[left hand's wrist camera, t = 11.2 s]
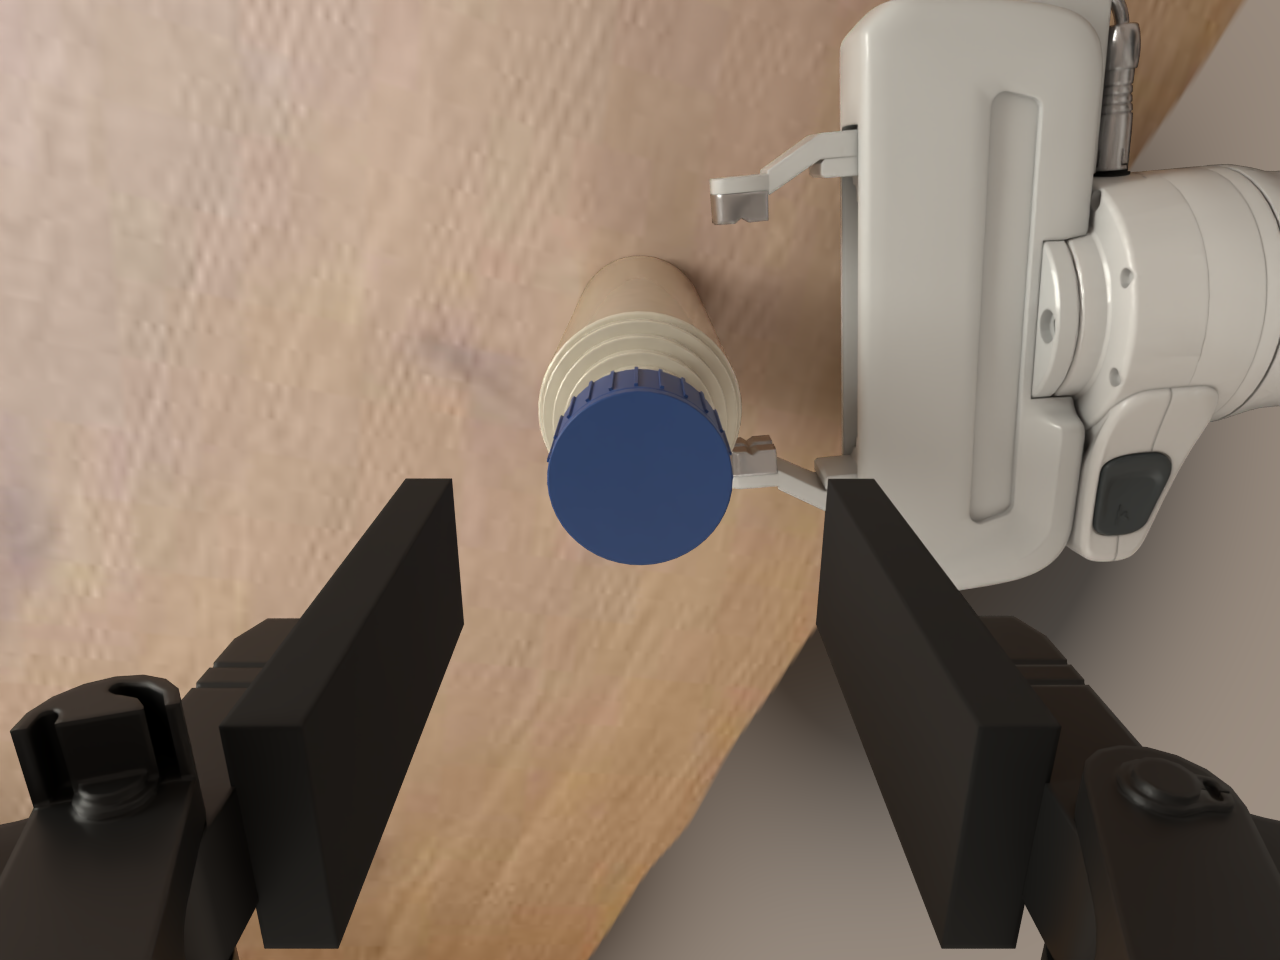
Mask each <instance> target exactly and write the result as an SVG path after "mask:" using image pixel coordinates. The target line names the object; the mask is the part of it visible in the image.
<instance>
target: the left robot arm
mask: <svg viewBox="0 0 1280 960" xmlns="http://www.w3.org/2000/svg"><path fill="white" fill-rule="evenodd" d="M463 625H464V619H463V607H462V594H461V582H460V570H459V558H458V546H457V534H456V522H455V510H454V498H453V486H452V479H405V481H404V482H403V483H402V484H401V486H400V487H399V488H398V490H397V491H396V492H395V494H394V495H393V496H392V498H391V499H390V500H389V502H388V503H387V504H386V506H385V507H384V508H383V510H382V511H381V512H380V514H379V515H378V516H377V518H376V519H375V520H374V521H373V523H372V524H371V525H370V527H369V528H368V529H367V531H366V532H365V533H364V535H363V536H362V537H361V539H360V540H359V541H358V543H357V544H356V545H355V547H354V548H353V549H352V551H351V552H350V553H349V555H348V556H347V557H346V558H345V560H344V561H343V562H342V564H341V565H340V566H339V568H338V569H337V570H336V572H335V573H334V574H333V576H332V577H331V578H330V580H329V581H328V582H327V584H326V585H325V586H324V588H323V589H322V590H321V591H320V593H319V594H318V595H317V597H316V598H315V599H314V601H313V602H312V603H311V605H310V606H309V607H308V609H307V610H306V611H305V613H304V614H303V615H302V617H301V618H300V619H266V620H264V621H263V622H261V623H259V624H258V625H256V626H255V627H253V628H251V629H250V630H248V631H246V632H245V633H243V634H242V635H240V636H238V637H237V638H235V639H234V640H233V641H232V642H231V643H230V645H229V646H228V647H227V648H226V649H225V650H224V651H223V653H222V654H221V655H220V656H219V657H218V658H217V660H216V661H215V662H214V666H213V668H209V669H208V670H207V671H206V672H205V673H204V675H203V676H202V677H201V678H200V679H199V680H198V682H197V683H196V688H192V689H191V690H190V691H189V692H188V693H187V694H186V695H185V697H184V698H183V699H182V700H181V697H180V693H179V689H178V688H177V687H176V686H174V685H173V684H172V683H171V682H169V681H168V680H167V679H164V678H158V677H153V676H148V675H133V676H117V677H112V678H107V679H103V680H99V681H95V682H91V683H87V684H83V685H80V686H78V687H76V688H73V689H71V690H68V691H66V692H63V693H61V694H58V695H56V696H54V697H52V698H50V699H48V700H47V701H45V702H44V703H42V704H40V705H39V706H37V707H36V708H34V709H33V710H31V711H29V712H28V713H26V714H25V716H24V717H23V718H22V719H21V720H20V721H19V722H18V723H17V724H16V725H15V726H14V727H13V728H12V729H11V731H10V733H11V736H12V739H13V743H14V746H15V749H16V752H17V756H18V759H19V762H20V765H21V768H22V772H23V775H24V778H25V781H26V784H27V788H28V791H29V794H30V797H31V800H32V804H33V807H34V809H33V811H32V813H31V815H30V817H29V818H27V819H24V820H20V821H16V822H11V823H6V824H2V825H0V960H239V957H238V953H237V948H236V944H237V943H238V941H239V939H240V937H241V935H242V933H243V931H244V929H245V927H246V925H247V923H248V921H249V920H250V918H251V916H252V914H253V912H254V910H255V908H256V910H257V915H258V919H259V924H260V929H261V934H262V939H263V943H264V948H265V949H338V948H339V945H340V943H341V940H342V938H343V935H344V933H345V930H346V927H347V925H348V922H349V920H350V917H351V914H352V912H353V909H354V907H355V904H356V902H357V899H358V896H359V894H360V891H361V889H362V886H363V883H364V881H365V878H366V876H367V873H368V871H369V868H370V865H371V863H372V860H373V858H374V855H375V852H376V850H377V847H378V845H379V842H380V840H381V837H382V834H383V832H384V829H385V827H386V824H387V822H388V819H389V816H390V814H391V811H392V809H393V806H394V803H395V801H396V798H397V796H398V793H399V791H400V788H401V785H402V783H403V780H404V778H405V775H406V772H407V770H408V767H409V765H410V762H411V760H412V757H413V754H414V752H415V749H416V747H417V744H418V741H419V739H420V736H421V734H422V731H423V729H424V726H425V723H426V721H427V718H428V716H429V713H430V710H431V708H432V705H433V703H434V700H435V698H436V695H437V692H438V690H439V687H440V685H441V682H442V679H443V677H444V674H445V672H446V669H447V667H448V664H449V661H450V659H451V656H452V654H453V651H454V648H455V646H456V643H457V641H458V638H459V636H460V633H461V630H462V628H463ZM816 625H817V628H818V630H819V633H820V636H821V638H822V641H823V643H824V646H825V648H826V651H827V654H828V656H829V659H830V661H831V664H832V666H833V669H834V672H835V674H836V677H837V679H838V682H839V685H840V687H841V690H842V692H843V695H844V698H845V700H846V703H847V705H848V708H849V710H850V713H851V716H852V718H853V721H854V723H855V726H856V729H857V731H858V734H859V736H860V739H861V741H862V744H863V747H864V749H865V752H866V754H867V757H868V760H869V762H870V765H871V767H872V770H873V772H874V775H875V777H876V780H877V783H878V785H879V788H880V790H881V793H882V796H883V798H884V801H885V803H886V806H887V809H888V811H889V814H890V816H891V819H892V821H893V824H894V827H895V829H896V832H897V834H898V837H899V840H900V842H901V845H902V847H903V850H904V853H905V855H906V858H907V860H908V863H909V865H910V868H911V871H912V873H913V876H914V878H915V881H916V883H917V886H918V889H919V891H920V894H921V896H922V899H923V902H924V904H925V907H926V909H927V912H928V914H929V917H930V920H931V922H932V925H933V927H934V930H935V932H936V935H937V938H938V940H939V943H940V945H941V948H942V949H955V948H956V949H963V948H964V949H967V948H968V949H970V948H971V949H976V948H977V949H985V948H987V949H992V948H993V949H994V948H995V949H996V948H997V949H1000V948H1001V949H1004V948H1005V949H1009V948H1010V949H1015V948H1016V943H1017V939H1018V934H1019V929H1020V924H1021V919H1022V915H1023V910H1024V905H1025V906H1026V907H1027V909H1028V911H1029V913H1030V915H1031V917H1032V919H1033V921H1034V923H1035V925H1036V927H1037V928H1038V930H1039V932H1040V934H1041V936H1042V938H1043V940H1044V942H1045V944H1044V948H1043V953H1042V957H1041V960H1280V821H1278V820H1273V819H1268V818H1264V817H1260V816H1256V815H1252V814H1250V813H1249V811H1248V809H1247V807H1246V806H1245V804H1244V803H1243V802H1242V801H1241V799H1240V798H1239V797H1238V795H1237V794H1236V793H1235V792H1234V790H1233V789H1232V788H1231V787H1230V786H1229V785H1227V784H1226V783H1224V782H1223V781H1222V780H1220V779H1219V778H1218V777H1216V776H1215V775H1214V774H1212V773H1211V772H1210V771H1208V770H1207V769H1205V768H1203V767H1201V766H1198V765H1196V764H1194V763H1192V762H1190V761H1188V760H1186V759H1184V758H1182V757H1179V756H1177V755H1174V754H1170V753H1166V752H1163V751H1159V750H1156V749H1152V748H1148V747H1142V746H1141V744H1140V743H1139V742H1138V741H1137V740H1136V739H1135V738H1134V736H1133V735H1132V734H1131V733H1130V732H1129V731H1128V730H1127V728H1126V727H1125V726H1124V725H1123V724H1122V723H1121V721H1120V720H1119V719H1118V718H1117V717H1116V716H1115V715H1114V713H1113V712H1112V711H1111V710H1110V709H1109V708H1108V706H1107V705H1106V704H1105V703H1104V702H1103V701H1102V700H1101V699H1100V697H1099V696H1098V695H1097V694H1096V693H1095V692H1094V690H1093V689H1092V688H1091V687H1090V686H1089V685H1085V684H1084V679H1083V678H1082V677H1081V676H1080V674H1079V673H1078V672H1077V671H1076V670H1075V669H1074V667H1073V666H1072V665H1067V659H1066V658H1065V657H1064V656H1063V655H1062V654H1061V653H1060V651H1059V650H1058V649H1057V648H1056V647H1055V646H1054V644H1053V643H1052V642H1051V641H1050V640H1049V639H1048V638H1047V636H1045V635H1044V634H1042V633H1040V632H1039V631H1037V630H1035V629H1034V628H1032V627H1030V626H1029V625H1027V624H1026V623H1024V622H1022V621H1021V620H1019V619H1017V618H1016V617H1014V616H978V615H977V614H976V613H975V611H974V610H973V609H972V607H971V606H970V605H969V603H968V602H967V601H966V599H965V598H964V597H963V595H962V594H961V593H960V592H959V590H958V589H957V588H956V586H955V585H954V584H953V582H952V581H951V580H950V578H949V577H948V576H947V574H946V573H945V572H944V570H943V569H942V568H941V566H940V565H939V564H938V562H937V561H936V560H935V558H934V557H933V556H932V555H931V553H930V552H929V551H928V549H927V548H926V547H925V545H924V544H923V543H922V541H921V540H920V539H919V537H918V536H917V535H916V533H915V532H914V531H913V529H912V528H911V527H910V525H909V524H908V523H907V521H906V520H905V519H904V518H903V516H902V515H901V514H900V512H899V511H898V510H897V508H896V507H895V506H894V504H893V503H892V502H891V500H890V499H889V498H888V496H887V495H886V494H885V492H884V491H883V490H882V488H881V487H880V486H879V484H878V483H877V482H876V481H875V479H828V486H827V498H826V510H825V522H824V534H823V546H822V558H821V570H820V582H819V594H818V606H817V619H816Z"/></svg>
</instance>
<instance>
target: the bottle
mask: <svg viewBox="0 0 1280 960" xmlns="http://www.w3.org/2000/svg"><path fill="white" fill-rule="evenodd" d="M635 367H638V369H650V370H656V371H658V370H659V369H662V370H663V372H665V373H668V374H671V375H673V376H675V377H678V378H680V379H681V377H683V378H685V381H686V382H687V383H688V384H690V385H691V386H693V387H694V388H695V389H696V390H697V391H699V392H700V391H702V392H703V393H704V396H705V399H706V400H707V401H708V403H709V404H710V406H711V407H712V408H713V410H715V409H716V410H717V412H718V415H719V418H720V421H721V425H722V428H723V430H725V433H726V437H727V440H728V443H729V446H730V449H731V452H732V450H733V448H734V446H735V443H736V440H737V438H738V434H739V429H740V425H741V415H742V405H741V395H740V389H739V385H738V382H737V379H736V376H735V373H734V371H733V369H732V366H731V364H730V362H729V360H728V358H727V356H726V354H725V351H724V349H723V347H722V345H721V343H720V341H719V338H718V336H717V334H716V332H715V330H714V328H713V326H712V323H711V321H710V319H709V317H708V315H707V313H706V310H705V308H704V306H703V304H702V302H701V300H700V298H699V295H698V293H697V291H696V289H695V287H694V286H693V284H692V283H691V281H690V280H689V279H688V278H687V276H686V275H685V274H684V273H683V272H681V271H680V270H679V269H678V268H676V267H675V266H673V265H672V264H670V263H668V262H666V261H664V260H661V259H658V258H655V257H649V256H630V257H626V258H622V259H619V260H616V261H614V262H612V263H610V264H608V265H606V266H605V267H604V268H602V269H601V270H600V271H599V272H597V273H596V274H595V275H594V276H593V278H592V279H591V280H590V281H589V283H588V284H587V286H586V288H585V289H584V291H583V293H582V295H581V298H580V300H579V302H578V304H577V306H576V308H575V310H574V313H573V315H572V317H571V319H570V321H569V323H568V326H567V328H566V330H565V332H564V334H563V336H562V339H561V341H560V343H559V345H558V347H557V349H556V351H555V354H554V356H553V358H552V360H551V362H550V364H549V367H548V369H547V371H546V373H545V376H544V378H543V382H542V386H541V389H540V395H539V403H538V416H539V424H540V430H541V434H542V437H543V441H544V443H545V446H546V448H547V450H548V453H549V452H550V449H551V446H552V442H553V437H554V434H555V431H556V428H557V425H558V422H559V419H560V416H561V415H562V416H564V414H565V412H566V410H567V409H568V407H569V406H570V403H571V399H572V397H573V396H575V397H577V395H578V394H580V393H581V392H582V391H583V390H584V389H585V388H586V387H588V385H589V382H590V381H593V382H595V381H597V380H598V379H600V378H602V377H604V376H607V375H609V374H610V373H611V371H615V372H619V371H624V370H631V369H635Z"/></svg>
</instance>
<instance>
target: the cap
mask: <svg viewBox="0 0 1280 960" xmlns="http://www.w3.org/2000/svg"><path fill="white" fill-rule="evenodd" d="M730 455H732V452H731V449H730V446H729V443H728V440H727V437H726V433H725V430H723V428H722V425H721V421H720V418H719V415H718V412H717V410H716V409H715V410H713V408H712V407H711V406H710V404H709V403H708V401H707V400H706V399H705V396H704V393H703V392H702V391H700V392H699V391H697V390H696V389H695V388H694V387H693V386H691V385H690V384H688V383H687V382H686V381H685V378H683V377H681V379H680V378H678V377H675V376H673V375H671V374H668V373H665V372H663V370H662V369H659V370H658V371H656V370H650V369H638V367H635V369H631V370H624V371H619V372H615V371H611V373H610V374H609V375H607V376H604V377H602V378H600V379H598V380H597V381H595V382H593V381H590V382H589V385H588V387H586V388H585V389H584V390H583V391H582V392H581V393H580V394H578V395H577V397H575V396H573V397H572V399H571V403H570V406H569V407H568V409H567V410H566V412H565V414H564V416H562V415H561V416H560V419H559V422H558V425H557V428H556V431H555V434H554V437H553V442H552V446H551V449H550V452H549V455H548V458H547V462H549V465H548V471H547V485H548V491H549V497H550V500H551V504H552V507H553V509H554V511H555V514H556V516H557V518H558V519H559V521H560V523H561V524H562V526H563V527H564V528H565V530H566V531H567V532H568V533H569V535H571V536H572V537H573V538H574V539H575V540H576V541H577V542H578V543H579V544H580V545H582V546H583V547H584V548H586V549H587V550H589V551H591V552H592V553H594V554H596V555H598V556H600V557H603V558H605V559H607V560H611V561H614V562H618V563H623V564H630V565H649V564H657V563H662V562H666V561H669V560H672V559H675V558H678V557H680V556H682V555H684V554H686V553H688V552H689V551H691V550H693V549H694V548H696V547H697V546H698V545H700V544H701V543H702V542H703V541H704V540H706V539H707V538H708V536H709V535H710V534H711V533H712V532H713V531H714V530H715V528H716V527H717V526H718V524H719V523H720V521H721V519H722V517H723V516H724V514H725V512H726V509H727V507H728V504H729V501H730V497H731V492H732V483H733V477H734V475H733V472H732V464H731V459H730Z"/></svg>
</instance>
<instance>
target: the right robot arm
mask: <svg viewBox="0 0 1280 960" xmlns="http://www.w3.org/2000/svg"><path fill="white" fill-rule="evenodd" d="M1111 10H1112V13H1113V17H1114V23H1115V25H1111V26H1109V25H1110V14H1111ZM1140 48H1141V35H1140V27H1139V24H1138V23H1137V22H1131V23H1129V14H1128V9H1127V5H1126V2H1125V0H891V1H888V2H885V3H882V4H880V5H878V6H876V7H874V8H873V9H871V10H870V11H869V12H868V13H866V14H865V15H864V16H863V17H862V18H861V19H860V20H859V21H858V23H857V24H856V25H855V26H854V27H853V28H852V29H851V30H850V32H849V33H848V34H847V35H846V36H845V37H844V39H843V41H842V43H841V47H840V131H836V132H825V133H818V134H812V135H808V136H806V137H805V138H803V139H802V140H801V141H799V142H798V143H797V144H795V145H794V146H792V147H791V148H790V149H788V150H787V151H786V152H784V153H783V154H781V155H780V156H779V157H777V158H776V159H775V160H773V161H772V162H770V163H769V164H768V165H766V166H765V167H763V168H762V169H761V170H760V174H751V175H741V176H730V177H720V178H713V179H709V181H710V198H711V211H712V223H714V224H715V225H722V224H735V223H736V222H737V221H739V220H740V219H741V218H742V219H743V220H745V221H747V222H757V221H767V220H768V194H769V195H770V194H771V193H773V192H774V191H776V190H777V189H779V188H780V187H781V186H783V185H784V184H786V183H787V182H789V181H790V180H791V179H793V178H794V177H796V176H797V175H799V174H800V173H801V172H803V171H804V170H806V169H807V168H809V174H810V175H811V176H812V177H815V178H832V177H840V212H841V417H842V456H832V457H822V458H817V459H816V460H814V469H815V471H816V472H811V471H809V470H807V469H804V468H802V467H800V466H797V465H795V464H793V463H790V462H788V461H786V460H783V459H781V458H779V457H776V448H775V446H774V444H772V440H771V438H770V436H769V435H762V436H752V437H750V438H749V439H748V440H747V441H746V440H744V439H742V438H741V437H738V438H737V440H736V443H735V446H734V448H733V450H732V455H730V459H731V464H732V472H733V475H734V477H733V483H732V488H734V489H749V488H761V487H773V486H777V487H778V489H779V490H781V491H783V492H785V493H787V494H789V495H792V496H794V497H796V498H798V499H800V500H802V501H804V502H807V503H809V504H811V505H813V506H815V507H817V508H819V509H822V510H824V511H825V510H826V498H827V486H828V479H875V481H876V482H877V483H878V484H879V486H880V487H881V488H882V490H883V491H884V492H885V494H886V495H887V496H888V498H889V499H890V500H891V502H892V503H893V504H894V506H895V507H896V508H897V510H898V511H899V512H900V514H901V515H902V516H903V518H904V519H905V520H906V521H907V523H908V524H909V525H910V527H911V528H912V529H913V531H914V532H915V533H916V535H917V536H918V537H919V539H920V540H921V541H922V543H923V544H924V545H925V547H926V548H927V549H928V551H929V552H930V553H931V555H932V556H933V557H934V558H935V560H936V561H937V562H938V564H939V565H940V566H941V568H942V569H943V570H944V572H945V573H946V574H947V576H948V577H949V578H950V580H951V581H952V582H953V584H954V585H955V586H956V588H957V589H958V590H964V589H971V588H977V587H983V586H989V585H994V584H999V583H1004V582H1009V581H1013V580H1017V579H1020V578H1023V577H1026V576H1029V575H1031V574H1034V573H1036V572H1038V571H1040V570H1042V569H1043V568H1045V567H1046V566H1048V565H1049V564H1050V563H1052V562H1053V561H1054V560H1055V559H1056V558H1057V557H1058V556H1059V554H1060V553H1061V552H1062V551H1063V549H1064V547H1065V546H1067V547H1069V548H1070V549H1071V550H1073V551H1075V552H1076V553H1078V554H1079V555H1081V556H1083V557H1084V558H1086V559H1088V560H1091V561H1099V562H1107V561H1117V560H1122V559H1125V558H1128V557H1130V556H1132V555H1133V554H1134V553H1135V552H1136V551H1137V550H1138V549H1139V548H1140V546H1141V545H1142V543H1143V542H1144V540H1145V538H1146V536H1147V534H1148V532H1149V530H1150V528H1151V526H1152V524H1153V521H1154V519H1155V517H1156V515H1157V513H1158V511H1159V509H1160V507H1161V505H1162V503H1163V501H1164V499H1165V497H1166V495H1167V493H1168V491H1169V489H1170V487H1171V485H1172V483H1173V481H1174V479H1175V478H1176V476H1177V474H1178V472H1179V470H1180V468H1181V467H1182V465H1183V463H1184V461H1185V460H1186V458H1187V456H1188V455H1189V453H1190V451H1191V450H1192V448H1193V446H1194V445H1195V443H1196V442H1197V440H1198V439H1199V437H1200V436H1201V434H1202V433H1203V431H1204V430H1205V428H1206V427H1207V425H1208V424H1209V422H1213V421H1217V420H1221V419H1225V418H1228V417H1231V416H1234V415H1237V414H1240V413H1243V412H1246V411H1249V410H1253V409H1257V408H1262V407H1273V406H1280V171H1263V170H1259V169H1255V168H1251V167H1244V166H1238V165H1230V164H1221V165H1207V166H1198V167H1186V168H1175V169H1164V170H1153V171H1143V172H1130V171H1128V161H1129V152H1130V142H1131V133H1132V119H1133V113H1132V112H1131V111H1132V110H1133V104H1132V103H1131V102H1132V94H1131V93H1132V91H1133V85H1132V83H1133V80H1134V72H1135V68H1137V67H1138V62H1139V57H1140Z"/></svg>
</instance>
